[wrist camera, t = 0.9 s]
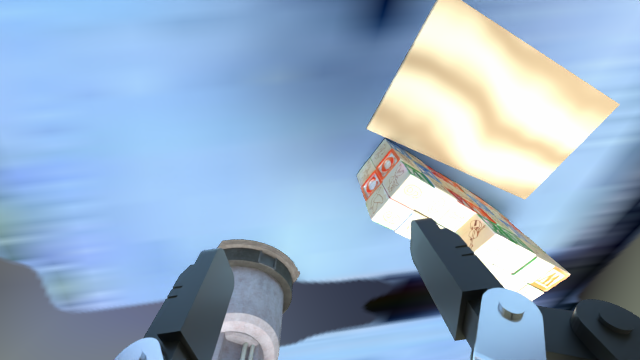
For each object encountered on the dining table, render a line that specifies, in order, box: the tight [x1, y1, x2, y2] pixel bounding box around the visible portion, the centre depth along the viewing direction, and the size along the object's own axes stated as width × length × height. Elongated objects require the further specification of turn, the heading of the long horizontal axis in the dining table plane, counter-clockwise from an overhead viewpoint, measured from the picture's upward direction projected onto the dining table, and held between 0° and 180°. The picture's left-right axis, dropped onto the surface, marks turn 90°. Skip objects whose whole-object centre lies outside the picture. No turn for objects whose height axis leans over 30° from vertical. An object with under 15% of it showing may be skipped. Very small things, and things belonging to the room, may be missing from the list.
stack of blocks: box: [357, 139, 570, 301], centre depth 30 cm, size 21×6×12 cm, turn 58°
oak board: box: [367, 0, 620, 199], centre depth 30 cm, size 14×26×1 cm, turn 66°
